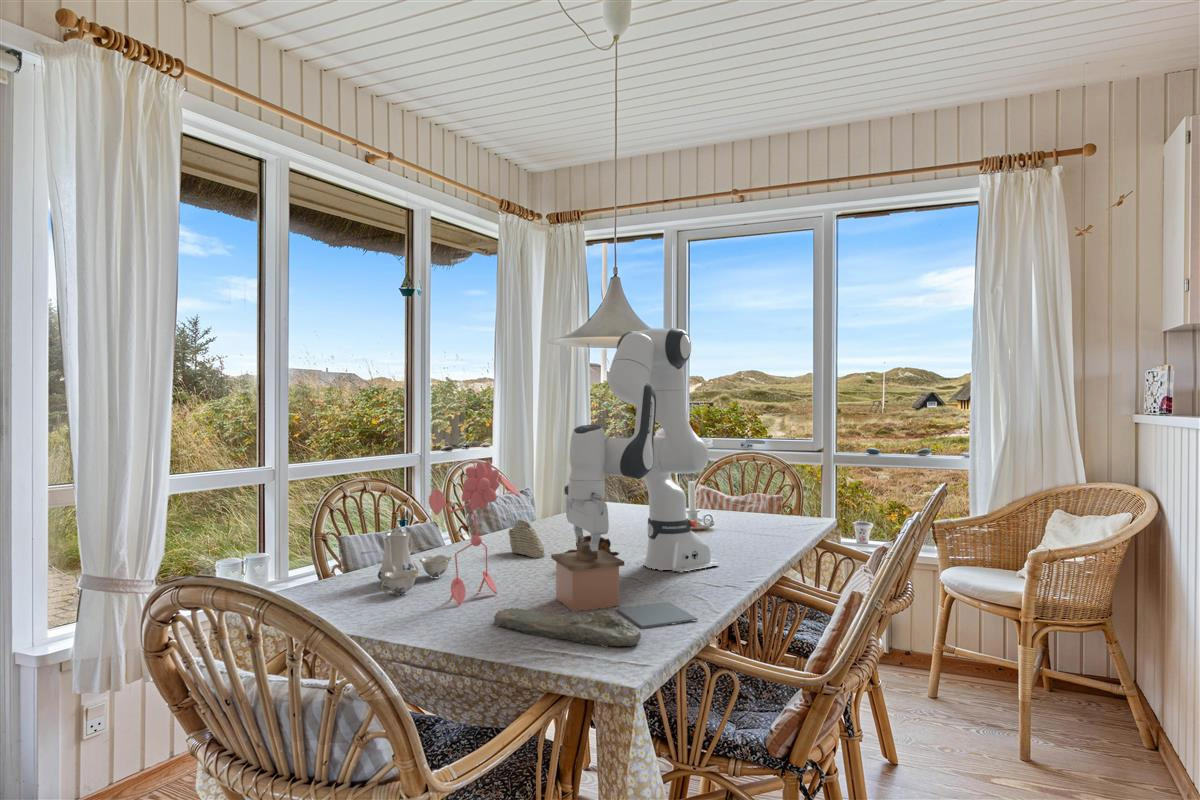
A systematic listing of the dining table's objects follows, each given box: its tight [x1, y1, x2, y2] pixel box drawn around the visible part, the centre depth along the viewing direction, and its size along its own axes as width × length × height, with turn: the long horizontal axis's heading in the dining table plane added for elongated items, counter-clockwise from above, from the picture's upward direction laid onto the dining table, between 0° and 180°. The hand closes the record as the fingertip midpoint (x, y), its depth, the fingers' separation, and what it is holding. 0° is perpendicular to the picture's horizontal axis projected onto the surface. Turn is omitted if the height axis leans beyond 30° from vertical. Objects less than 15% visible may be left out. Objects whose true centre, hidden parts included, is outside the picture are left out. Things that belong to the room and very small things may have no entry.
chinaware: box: [377, 523, 453, 596], centre depth 192 cm, size 28×17×17 cm, turn 169°
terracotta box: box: [555, 561, 620, 612], centre depth 176 cm, size 12×12×10 cm
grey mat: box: [615, 601, 698, 629], centre depth 165 cm, size 14×14×1 cm
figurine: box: [428, 459, 521, 606], centre depth 175 cm, size 15×26×35 cm, turn 139°
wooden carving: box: [563, 534, 620, 557], centre depth 208 cm, size 16×5×10 cm, turn 92°
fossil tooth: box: [507, 518, 546, 559], centre depth 228 cm, size 12×6×15 cm
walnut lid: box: [550, 542, 625, 571], centre depth 175 cm, size 14×14×4 cm
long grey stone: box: [493, 607, 642, 647], centre depth 153 cm, size 35×5×10 cm
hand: (586, 546), depth 175 cm, fingers open, 8 cm apart
